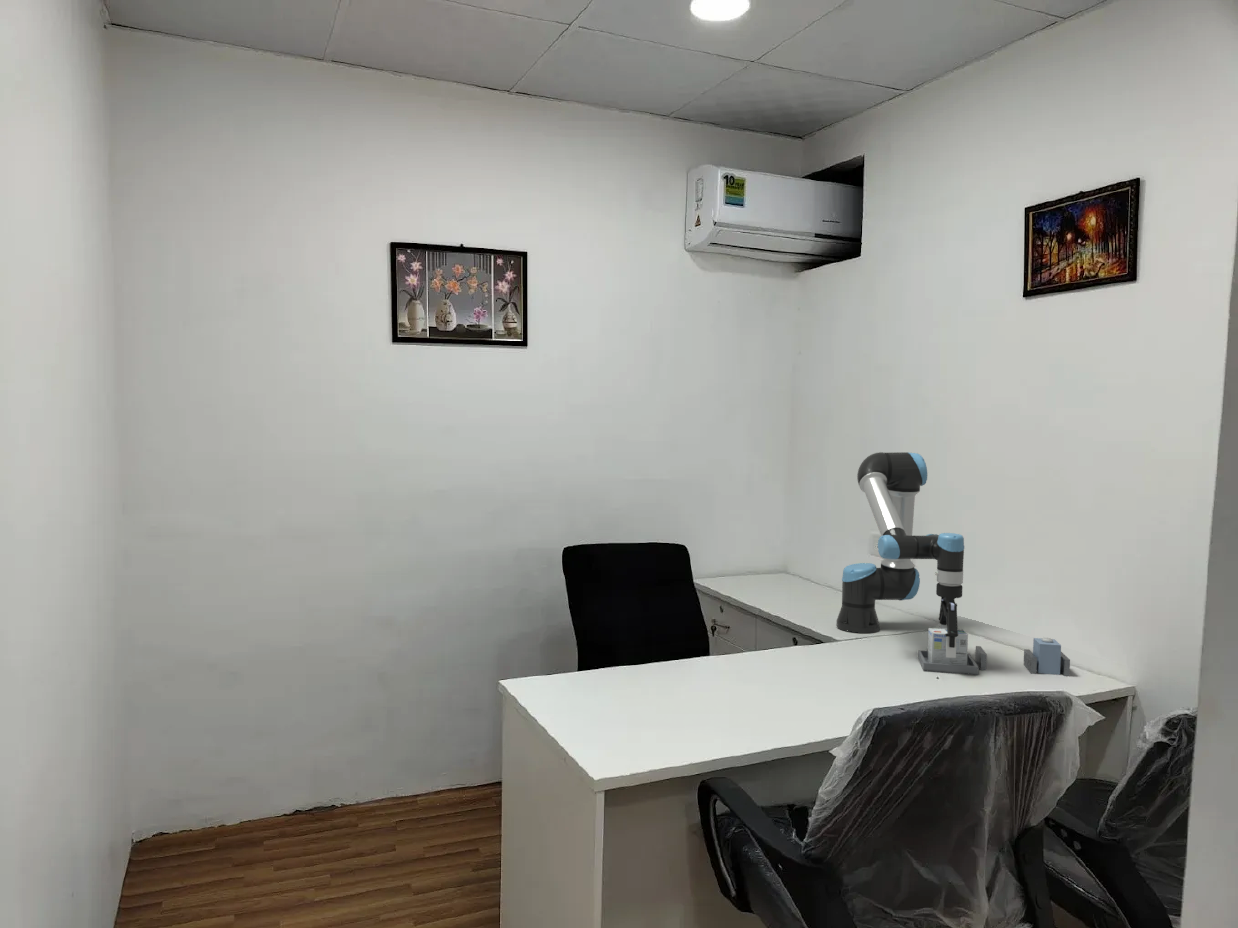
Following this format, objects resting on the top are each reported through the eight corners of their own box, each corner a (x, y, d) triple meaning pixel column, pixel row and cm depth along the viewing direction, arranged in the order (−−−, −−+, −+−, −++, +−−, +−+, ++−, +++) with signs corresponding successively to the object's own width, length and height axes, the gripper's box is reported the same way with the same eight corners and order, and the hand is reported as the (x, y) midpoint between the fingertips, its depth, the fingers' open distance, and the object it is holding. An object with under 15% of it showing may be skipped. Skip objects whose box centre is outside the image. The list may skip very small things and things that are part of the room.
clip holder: (975, 661, 267) (975, 645, 266) (1060, 667, 261) (1061, 651, 261) (980, 669, 258) (981, 653, 258) (1069, 676, 252) (1070, 659, 252)
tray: (917, 657, 270) (917, 649, 270) (969, 661, 267) (969, 653, 267) (923, 671, 256) (923, 663, 256) (978, 675, 253) (978, 666, 252)
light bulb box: (961, 662, 264) (963, 628, 263) (967, 668, 257) (969, 634, 256) (926, 660, 265) (927, 627, 264) (931, 667, 259) (932, 632, 258)
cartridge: (1032, 666, 262) (1033, 635, 261) (1053, 667, 261) (1054, 636, 260) (1038, 672, 255) (1039, 641, 255) (1059, 674, 254) (1061, 642, 253)
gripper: (931, 575, 273) (928, 639, 274) (942, 591, 248) (940, 661, 250) (955, 576, 271) (953, 641, 272) (969, 592, 247) (967, 663, 248)
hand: (947, 651), depth 261 cm, fingers open, 13 cm apart
